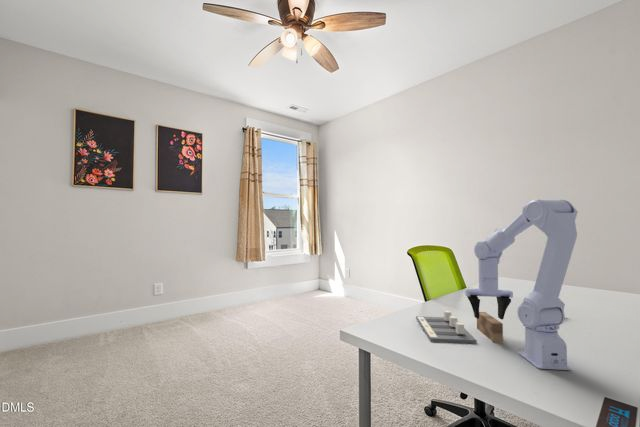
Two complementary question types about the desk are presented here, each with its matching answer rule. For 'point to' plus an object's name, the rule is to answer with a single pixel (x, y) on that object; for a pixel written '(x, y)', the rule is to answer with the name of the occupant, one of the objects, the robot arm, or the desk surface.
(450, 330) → the switch board
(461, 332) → the beige small block
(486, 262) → the robot arm
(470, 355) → the desk surface
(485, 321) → the pusher bar
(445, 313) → the tab
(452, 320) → the tab
